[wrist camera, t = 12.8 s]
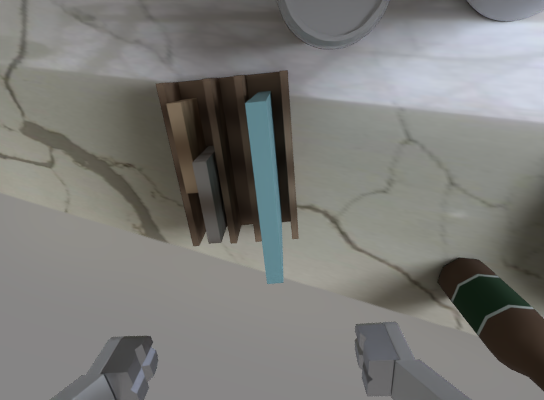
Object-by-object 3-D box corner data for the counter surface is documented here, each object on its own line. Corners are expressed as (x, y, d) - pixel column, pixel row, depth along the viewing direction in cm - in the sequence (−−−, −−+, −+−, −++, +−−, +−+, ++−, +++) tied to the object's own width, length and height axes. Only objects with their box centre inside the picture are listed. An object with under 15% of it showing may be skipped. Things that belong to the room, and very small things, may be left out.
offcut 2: (208, 145, 38) (192, 162, 31) (219, 144, 38) (205, 161, 31) (220, 214, 42) (208, 243, 35) (231, 213, 42) (221, 242, 35)
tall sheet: (258, 91, 35) (245, 103, 21) (270, 90, 35) (266, 101, 21) (270, 210, 42) (267, 283, 27) (281, 209, 41) (283, 282, 27)
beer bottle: (437, 298, 49) (568, 479, 27) (433, 262, 46) (576, 431, 24) (486, 288, 48) (662, 467, 26) (485, 250, 45) (682, 415, 23)
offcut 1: (184, 99, 36) (166, 103, 30) (196, 97, 36) (180, 102, 30) (200, 175, 40) (186, 193, 34) (210, 175, 40) (199, 192, 34)
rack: (175, 82, 36) (155, 83, 31) (286, 71, 36) (288, 70, 30) (204, 223, 44) (193, 246, 38) (296, 216, 44) (299, 238, 38)
